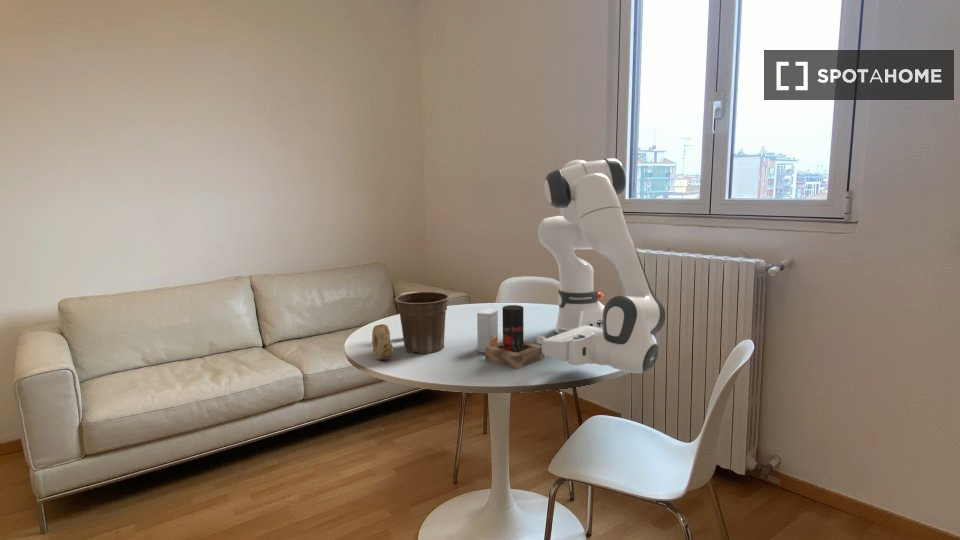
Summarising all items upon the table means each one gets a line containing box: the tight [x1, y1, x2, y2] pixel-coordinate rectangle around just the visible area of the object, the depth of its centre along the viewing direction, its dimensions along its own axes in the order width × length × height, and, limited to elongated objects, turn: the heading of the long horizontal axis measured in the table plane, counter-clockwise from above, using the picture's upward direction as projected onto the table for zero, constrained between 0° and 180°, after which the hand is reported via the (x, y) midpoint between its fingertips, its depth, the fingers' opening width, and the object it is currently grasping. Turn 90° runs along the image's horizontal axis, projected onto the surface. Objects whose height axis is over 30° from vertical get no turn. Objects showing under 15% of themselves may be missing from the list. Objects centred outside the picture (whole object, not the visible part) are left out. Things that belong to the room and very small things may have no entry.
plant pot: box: [394, 291, 450, 355], centre depth 166 cm, size 16×16×16 cm
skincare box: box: [476, 308, 499, 353], centre depth 163 cm, size 6×4×12 cm
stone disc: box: [371, 323, 394, 361], centre depth 156 cm, size 10×4×10 cm, turn 29°
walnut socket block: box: [484, 341, 546, 369], centre depth 155 cm, size 12×12×4 cm
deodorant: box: [502, 304, 525, 353], centre depth 155 cm, size 6×6×15 cm
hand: (549, 335), depth 146 cm, fingers open, 8 cm apart
